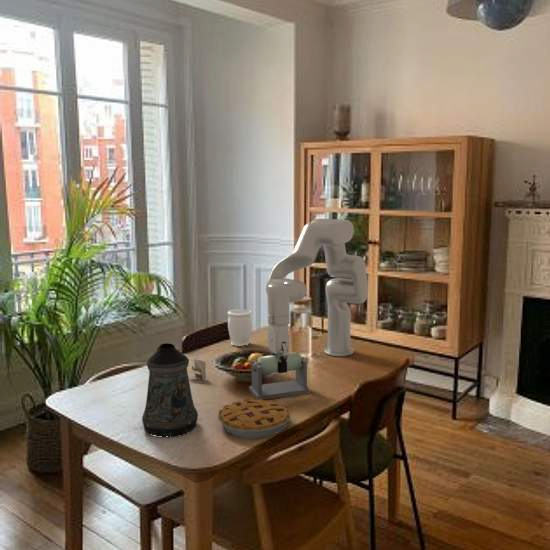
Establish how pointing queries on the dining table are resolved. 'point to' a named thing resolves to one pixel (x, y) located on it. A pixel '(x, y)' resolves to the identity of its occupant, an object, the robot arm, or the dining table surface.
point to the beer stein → (169, 394)
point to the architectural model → (199, 369)
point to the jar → (239, 326)
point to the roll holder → (278, 384)
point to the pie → (254, 418)
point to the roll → (271, 363)
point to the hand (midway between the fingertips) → (279, 369)
